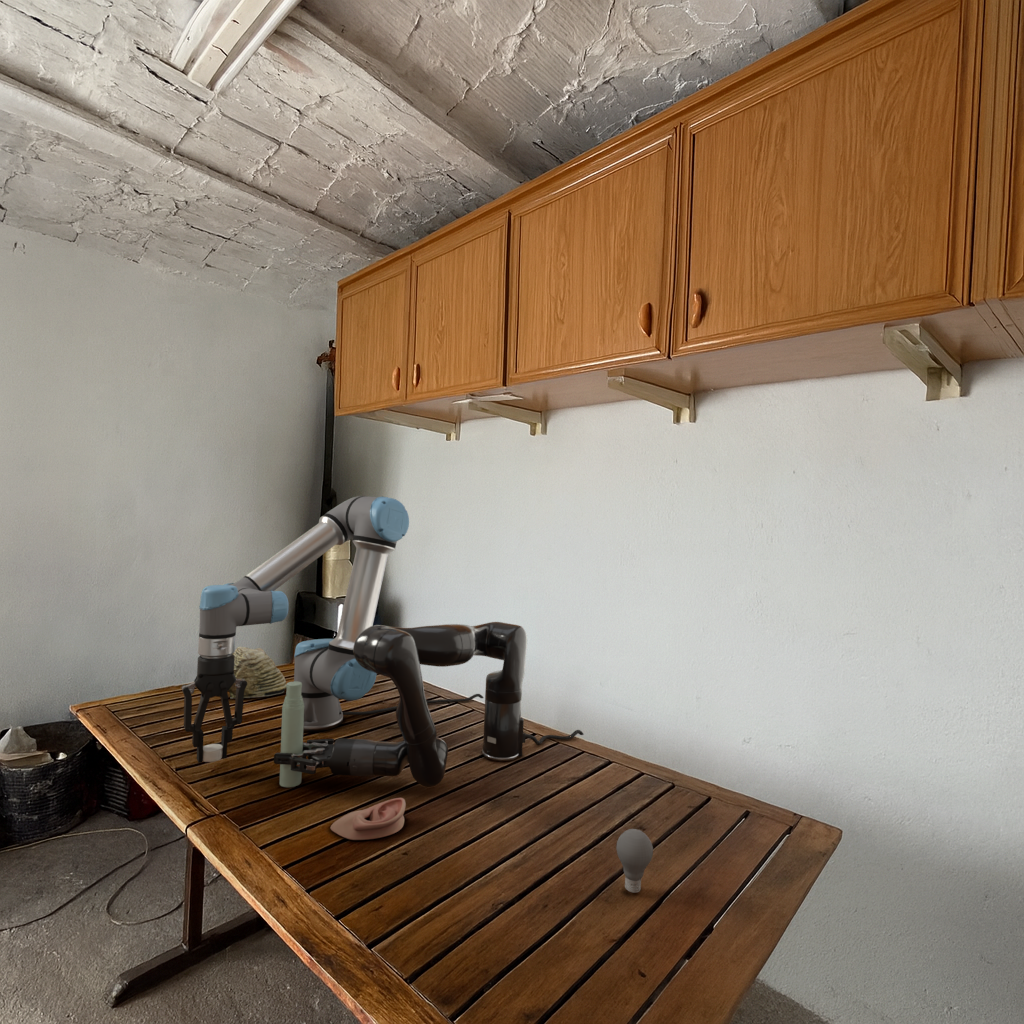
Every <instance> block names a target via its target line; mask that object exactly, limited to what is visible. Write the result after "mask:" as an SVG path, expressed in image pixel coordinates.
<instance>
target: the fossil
mask: <svg viewBox="0 0 1024 1024" xmlns="http://www.w3.org/2000/svg"><path fill="white" fill-rule="evenodd" d="M233 655H234V656H235V659H234V675H235V677H236V678H238V679H242V678H244V679H245V680H246V681H247V686H246V688H245V691H244V699H250V698H264V697H271V696H275V695H281V694H284V693H285V691H286V688H287V687H286V685H287V680H286V678H285V676H284V674H283V673H282V672H281V669H279V668H278V667H277V665H276V663H275V662H274V660H273V659H272V658H271V657H270V656H269V655H268V654H267V653H266V652H265V650H264V649H263V648H260V647H258V648H251V647H247V646H246V647H245V646H238V647H237V648H235V652H234V653H233ZM236 689H237V688H236V687H235V683H234V684H233V685H232V687H231V688H230V689H229V690H228V693H229V698H230V699H236Z"/></svg>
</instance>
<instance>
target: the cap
mask: <svg viewBox="0 0 1024 1024" xmlns="http://www.w3.org/2000/svg"><path fill="white" fill-rule="evenodd" d="M222 756H223V746H222V745H221V743H211V744H206V745H203V759H202V762H203V763H204V762H205V763H212V762H217V761H220V760H221V759H223V758H222Z"/></svg>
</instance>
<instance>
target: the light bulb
mask: <svg viewBox="0 0 1024 1024" xmlns="http://www.w3.org/2000/svg"><path fill="white" fill-rule="evenodd" d="M615 849H616V854H617V857H618V859H619V861H620V863H621V865H622V867H623V873H624V874H623V875H624V876H625V878H624V888H625V890H627V891H628V892H630V893H634V894H635V893H639V892H640V891H641V889H642V887H641V886H642V879H643V877H644V875H645V871H646V868H647V867H648V866H649V864H650V863H651V861H652V859H653V855H654V847H653V843H652V841H651V838H649V836H648V835H647V834H646V833H645V832H643V831H642V830H641V829H636V828H629V829H627V830H625V831H623V832H622V833H621V834H620V835H619V837H618V839H617V841H616V847H615Z"/></svg>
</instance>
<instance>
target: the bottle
mask: <svg viewBox="0 0 1024 1024" xmlns="http://www.w3.org/2000/svg"><path fill="white" fill-rule="evenodd" d="M301 688H302V683H301V682H298V681H294V680H293V681H289V682H286V690H285V691H286V693H285V697H284V700H283V704H282V706H281V731H280V732H281V733H280V753H292V754H294V753H302V752H303V743H304V732H303V726H304V703H303V698H302V695H301ZM298 758H302V757H298ZM298 767H300V766H298ZM302 774H303V772H298V771H292V770H291V765H287V764H279V781H278V782H279V786H280V787H283V788H295V787H296V786H299V785H300V784H302V779H303V777H302V776H303V775H302Z"/></svg>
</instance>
